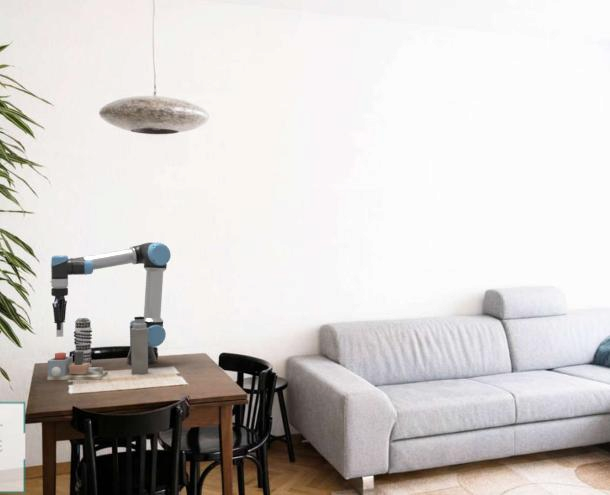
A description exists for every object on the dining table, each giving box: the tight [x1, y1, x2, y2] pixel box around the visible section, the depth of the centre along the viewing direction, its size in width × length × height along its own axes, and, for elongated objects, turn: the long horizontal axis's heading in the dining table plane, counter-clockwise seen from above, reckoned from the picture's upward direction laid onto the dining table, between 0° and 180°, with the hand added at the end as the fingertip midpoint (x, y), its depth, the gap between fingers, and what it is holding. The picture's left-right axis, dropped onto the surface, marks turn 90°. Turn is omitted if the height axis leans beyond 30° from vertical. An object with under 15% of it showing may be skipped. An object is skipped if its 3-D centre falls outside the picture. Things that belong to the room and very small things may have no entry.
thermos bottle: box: [130, 316, 149, 375], centre depth 323 cm, size 8×8×28 cm
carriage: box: [68, 351, 91, 374], centre depth 314 cm, size 8×7×10 cm
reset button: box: [54, 352, 67, 360], centre depth 314 cm, size 5×5×3 cm
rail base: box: [46, 366, 109, 381], centre depth 314 cm, size 25×12×4 cm, turn 90°
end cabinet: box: [47, 356, 74, 377], centre depth 314 cm, size 8×11×9 cm
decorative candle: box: [73, 317, 93, 367], centre depth 341 cm, size 9×9×25 cm
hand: (59, 336), depth 314 cm, fingers closed
